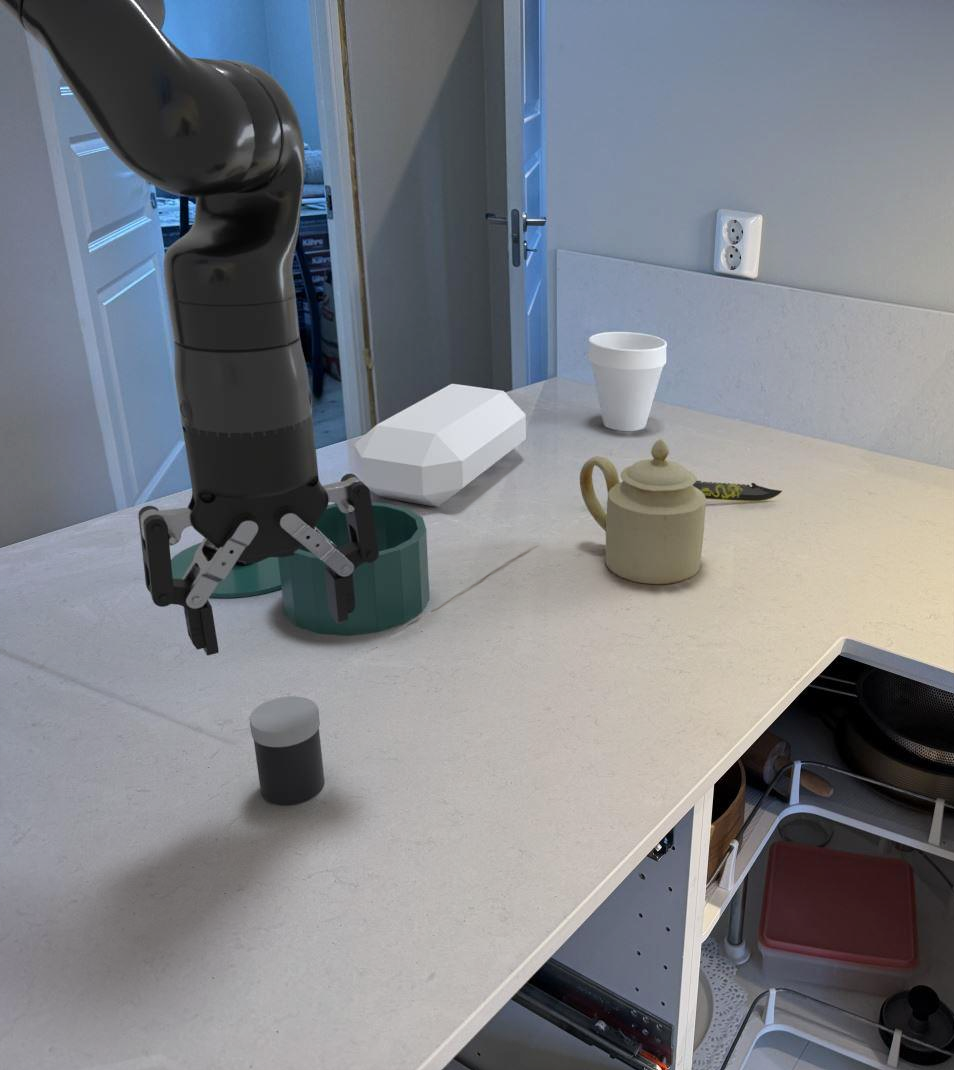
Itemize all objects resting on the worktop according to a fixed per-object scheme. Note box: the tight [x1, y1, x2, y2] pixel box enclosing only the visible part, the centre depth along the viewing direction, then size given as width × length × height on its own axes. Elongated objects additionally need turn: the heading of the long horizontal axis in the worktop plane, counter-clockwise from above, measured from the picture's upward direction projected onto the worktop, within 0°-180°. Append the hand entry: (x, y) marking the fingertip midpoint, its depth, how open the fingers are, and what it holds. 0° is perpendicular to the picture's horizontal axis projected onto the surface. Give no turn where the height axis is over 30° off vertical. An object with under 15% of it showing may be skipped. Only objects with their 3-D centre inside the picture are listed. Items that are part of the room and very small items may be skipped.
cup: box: [587, 331, 668, 432], centre depth 157 cm, size 12×12×14 cm
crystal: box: [353, 383, 527, 508], centre depth 131 cm, size 14×10×28 cm
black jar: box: [249, 695, 325, 806], centre depth 73 cm, size 5×5×6 cm
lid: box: [171, 541, 282, 599], centre depth 103 cm, size 15×15×6 cm
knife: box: [693, 480, 783, 502], centre depth 130 cm, size 23×2×5 cm, turn 108°
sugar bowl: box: [579, 438, 707, 585], centre depth 110 cm, size 15×11×15 cm
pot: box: [278, 501, 431, 637], centre depth 98 cm, size 14×14×8 cm
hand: (276, 633), depth 69 cm, fingers open, 8 cm apart
